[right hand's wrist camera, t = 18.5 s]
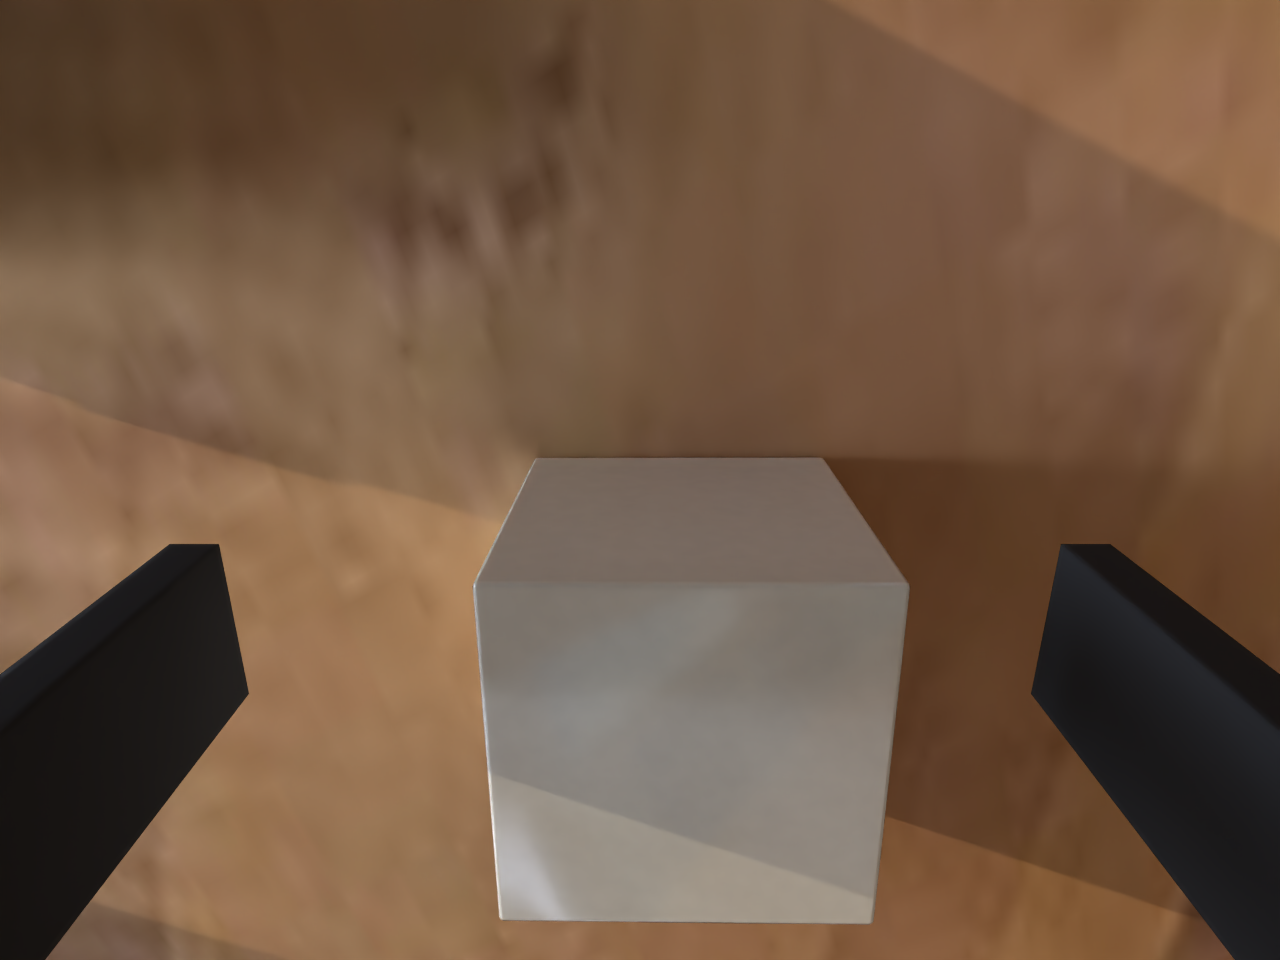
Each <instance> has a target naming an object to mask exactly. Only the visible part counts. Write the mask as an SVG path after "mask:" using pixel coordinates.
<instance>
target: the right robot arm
mask: <svg viewBox="0 0 1280 960" xmlns="http://www.w3.org/2000/svg"><path fill="white" fill-rule="evenodd" d="M248 694H249V692H248V687H247V682H246V677H245V672H244V667H243V662H242V657H241V652H240V647H239V642H238V637H237V632H236V627H235V622H234V617H233V612H232V607H231V602H230V597H229V592H228V587H227V582H226V577H225V572H224V567H223V562H222V557H221V552H220V547H219V544H169V545H168V546H167V547H165V548H164V549H163V550H162V551H160V552H159V553H158V554H156V555H155V556H154V557H152V558H151V559H150V560H149V561H147V562H146V563H145V564H143V565H142V566H141V567H139V568H138V569H137V570H135V571H134V572H133V573H132V574H130V575H129V576H128V577H126V578H125V579H124V580H122V581H121V582H120V583H119V584H117V585H116V586H115V587H113V588H112V589H111V590H109V591H108V592H107V593H106V594H104V595H103V596H102V597H100V598H99V599H98V600H96V601H95V602H94V603H93V604H91V605H90V606H89V607H87V608H86V609H85V610H83V611H82V612H81V613H80V614H78V615H77V616H76V617H74V618H73V619H72V620H70V621H69V622H68V623H67V624H65V625H64V626H63V627H61V628H60V629H59V630H57V631H56V632H55V633H53V634H52V635H51V636H50V637H48V638H47V639H46V640H44V641H43V642H42V643H40V644H39V645H38V646H37V647H35V648H34V649H33V650H31V651H30V652H29V653H27V654H26V655H25V656H24V657H22V658H21V659H20V660H18V661H17V662H16V663H14V664H13V665H12V666H11V667H9V668H8V669H7V670H5V671H4V672H3V673H1V674H0V960H45V959H46V958H47V957H48V955H49V954H50V953H51V951H52V950H53V949H54V948H55V946H56V945H57V944H58V942H59V941H60V940H61V938H62V937H63V936H64V935H65V933H66V932H67V931H68V929H69V928H70V927H71V925H72V924H73V923H74V921H75V920H76V919H77V918H78V916H79V915H80V914H81V912H82V911H83V910H84V908H85V907H86V906H87V904H88V903H89V902H90V901H91V899H92V898H93V897H94V895H95V894H96V893H97V891H98V890H99V889H100V887H101V886H102V885H103V884H104V882H105V881H106V880H107V878H108V877H109V876H110V874H111V873H112V872H113V871H114V869H115V868H116V867H117V865H118V864H119V863H120V861H121V860H122V859H123V857H124V856H125V855H126V854H127V852H128V851H129V850H130V848H131V847H132V846H133V844H134V843H135V842H136V840H137V839H138V838H139V837H140V835H141V834H142V833H143V831H144V830H145V829H146V827H147V826H148V825H149V823H150V822H151V821H152V820H153V818H154V817H155V816H156V814H157V813H158V812H159V810H160V809H161V808H162V807H163V805H164V804H165V803H166V801H167V800H168V799H169V797H170V796H171V795H172V793H173V792H174V791H175V790H176V788H177V787H178V786H179V784H180V783H181V782H182V780H183V779H184V778H185V776H186V775H187V774H188V773H189V771H190V770H191V769H192V767H193V766H194V765H195V763H196V762H197V761H198V760H199V758H200V757H201V756H202V754H203V753H204V752H205V750H206V749H207V748H208V746H209V745H210V744H211V743H212V741H213V740H214V739H215V737H216V736H217V735H218V733H219V732H220V731H221V729H222V728H223V727H224V726H225V724H226V723H227V722H228V720H229V719H230V718H231V716H232V715H233V714H234V712H235V711H236V710H237V709H238V707H239V706H240V705H241V703H242V702H243V701H244V699H245V698H246V697H247V696H248ZM1031 694H1032V696H1033V697H1034V698H1035V699H1036V701H1037V702H1038V703H1039V705H1040V706H1041V707H1042V709H1043V710H1044V711H1045V712H1046V714H1047V715H1048V716H1049V718H1050V719H1051V720H1052V722H1053V723H1054V724H1055V726H1056V727H1057V728H1058V729H1059V731H1060V732H1061V733H1062V735H1063V736H1064V737H1065V739H1066V740H1067V741H1068V743H1069V744H1070V745H1071V746H1072V748H1073V749H1074V750H1075V752H1076V753H1077V754H1078V756H1079V757H1080V758H1081V760H1082V761H1083V762H1084V763H1085V765H1086V766H1087V767H1088V769H1089V770H1090V771H1091V773H1092V774H1093V775H1094V776H1095V778H1096V779H1097V780H1098V782H1099V783H1100V784H1101V786H1102V787H1103V788H1104V790H1105V791H1106V792H1107V793H1108V795H1109V796H1110V797H1111V799H1112V800H1113V801H1114V803H1115V804H1116V805H1117V807H1118V808H1119V809H1120V810H1121V812H1122V813H1123V814H1124V816H1125V817H1126V818H1127V820H1128V821H1129V822H1130V823H1131V825H1132V826H1133V827H1134V829H1135V830H1136V831H1137V833H1138V834H1139V835H1140V837H1141V838H1142V839H1143V840H1144V842H1145V843H1146V844H1147V846H1148V847H1149V848H1150V850H1151V851H1152V852H1153V854H1154V855H1155V856H1156V857H1157V859H1158V860H1159V861H1160V863H1161V864H1162V865H1163V867H1164V868H1165V869H1166V871H1167V872H1168V873H1169V874H1170V876H1171V877H1172V878H1173V880H1174V881H1175V882H1176V884H1177V885H1178V886H1179V887H1180V889H1181V890H1182V891H1183V893H1184V894H1185V895H1186V897H1187V898H1188V899H1189V901H1190V902H1191V903H1192V904H1193V906H1194V907H1195V908H1196V910H1197V911H1198V912H1199V914H1200V915H1201V916H1202V918H1203V919H1204V920H1205V921H1206V923H1207V924H1208V925H1209V927H1210V928H1211V929H1212V931H1213V932H1214V933H1215V935H1216V936H1217V937H1218V938H1219V940H1220V941H1221V942H1222V944H1223V945H1224V946H1225V948H1226V949H1227V950H1228V951H1229V953H1230V954H1231V955H1232V957H1233V958H1234V959H1235V960H1280V674H1279V673H1277V672H1276V671H1275V670H1273V669H1272V668H1271V667H1269V666H1268V665H1267V664H1266V663H1264V662H1263V661H1262V660H1260V659H1259V658H1258V657H1256V656H1255V655H1254V654H1253V653H1251V652H1250V651H1249V650H1247V649H1246V648H1245V647H1243V646H1242V645H1241V644H1240V643H1238V642H1237V641H1236V640H1234V639H1233V638H1232V637H1230V636H1229V635H1228V634H1227V633H1225V632H1224V631H1223V630H1221V629H1220V628H1219V627H1217V626H1216V625H1215V624H1213V623H1212V622H1211V621H1210V620H1208V619H1207V618H1206V617H1204V616H1203V615H1202V614H1200V613H1199V612H1198V611H1197V610H1195V609H1194V608H1193V607H1191V606H1190V605H1189V604H1187V603H1186V602H1185V601H1184V600H1182V599H1181V598H1180V597H1178V596H1177V595H1176V594H1174V593H1173V592H1172V591H1171V590H1169V589H1168V588H1167V587H1165V586H1164V585H1163V584H1161V583H1160V582H1159V581H1158V580H1156V579H1155V578H1154V577H1152V576H1151V575H1150V574H1148V573H1147V572H1146V571H1145V570H1143V569H1142V568H1141V567H1139V566H1138V565H1137V564H1135V563H1134V562H1133V561H1131V560H1130V559H1129V558H1128V557H1126V556H1125V555H1124V554H1122V553H1121V552H1120V551H1118V550H1117V549H1116V548H1115V547H1113V546H1112V545H1111V544H1061V547H1060V552H1059V557H1058V562H1057V567H1056V572H1055V577H1054V582H1053V587H1052V592H1051V597H1050V602H1049V607H1048V612H1047V617H1046V622H1045V627H1044V632H1043V637H1042V642H1041V647H1040V652H1039V657H1038V662H1037V667H1036V672H1035V677H1034V682H1033V687H1032V692H1031Z"/></svg>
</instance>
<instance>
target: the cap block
mask: <svg viewBox="0 0 1280 960" xmlns="http://www.w3.org/2000/svg"><path fill="white" fill-rule="evenodd" d="M909 593H910V585H909V583H908V581H907V580H906V578H905V577H904V575H903V574H902V572H901V571H900V570H899V568H898V567H897V565H896V564H895V562H894V561H893V559H892V558H891V556H890V555H889V553H888V552H887V551H886V549H885V548H884V546H883V545H882V543H881V542H880V540H879V539H878V537H877V536H876V534H875V533H874V532H873V530H872V529H871V527H870V526H869V524H868V523H867V521H866V520H865V518H864V517H863V515H862V514H861V512H860V511H859V510H858V508H857V507H856V505H855V504H854V502H853V501H852V499H851V498H850V496H849V495H848V493H847V492H846V491H845V489H844V488H843V486H842V485H841V483H840V482H839V480H838V479H837V477H836V476H835V474H834V473H833V471H832V470H831V469H830V467H829V466H828V464H827V463H826V461H825V460H824V459H823V458H536V459H535V460H534V462H533V464H532V466H531V468H530V470H529V472H528V474H527V476H526V478H525V480H524V482H523V484H522V486H521V488H520V490H519V492H518V494H517V496H516V498H515V500H514V502H513V504H512V506H511V508H510V510H509V512H508V514H507V517H506V519H505V521H504V523H503V525H502V527H501V529H500V531H499V533H498V535H497V537H496V539H495V541H494V543H493V545H492V547H491V549H490V551H489V553H488V555H487V557H486V559H485V561H484V563H483V565H482V567H481V569H480V571H479V573H478V575H477V577H476V579H475V581H474V584H473V597H474V610H475V622H476V634H477V647H478V659H479V672H480V684H481V697H482V709H483V721H484V734H485V746H486V759H487V771H488V784H489V796H490V808H491V821H492V833H493V846H494V858H495V871H496V883H497V895H498V908H499V916H500V919H501V920H503V921H569V922H666V923H762V924H859V925H870V924H872V923H873V921H874V913H875V904H876V895H877V885H878V876H879V867H880V858H881V849H882V840H883V831H884V821H885V812H886V803H887V794H888V785H889V776H890V767H891V757H892V748H893V739H894V730H895V721H896V712H897V703H898V694H899V684H900V675H901V666H902V657H903V648H904V639H905V630H906V620H907V611H908V602H909Z"/></svg>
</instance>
